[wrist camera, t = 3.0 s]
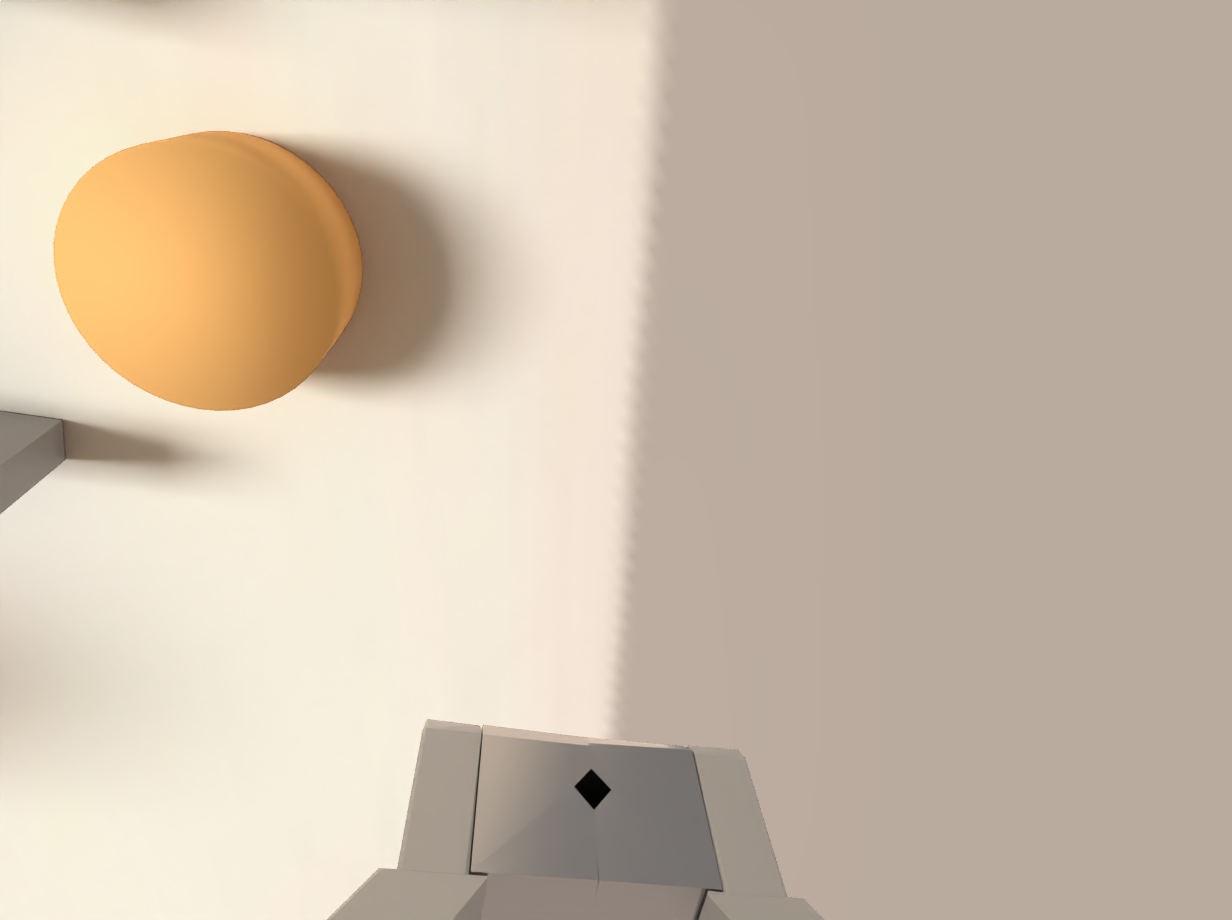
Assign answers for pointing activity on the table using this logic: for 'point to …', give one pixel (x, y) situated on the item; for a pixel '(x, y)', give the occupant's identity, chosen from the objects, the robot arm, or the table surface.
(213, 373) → the orange rounded dome
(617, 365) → the table surface
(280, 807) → the table surface
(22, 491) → the panel
